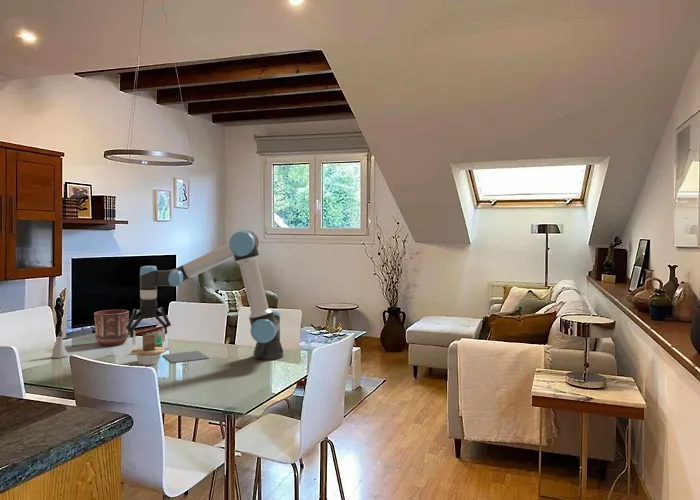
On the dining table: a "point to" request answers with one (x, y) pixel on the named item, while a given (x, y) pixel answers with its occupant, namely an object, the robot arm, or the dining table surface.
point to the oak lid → (148, 347)
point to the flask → (59, 349)
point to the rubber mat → (185, 356)
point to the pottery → (111, 327)
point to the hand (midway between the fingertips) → (148, 342)
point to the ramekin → (148, 359)
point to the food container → (157, 337)
